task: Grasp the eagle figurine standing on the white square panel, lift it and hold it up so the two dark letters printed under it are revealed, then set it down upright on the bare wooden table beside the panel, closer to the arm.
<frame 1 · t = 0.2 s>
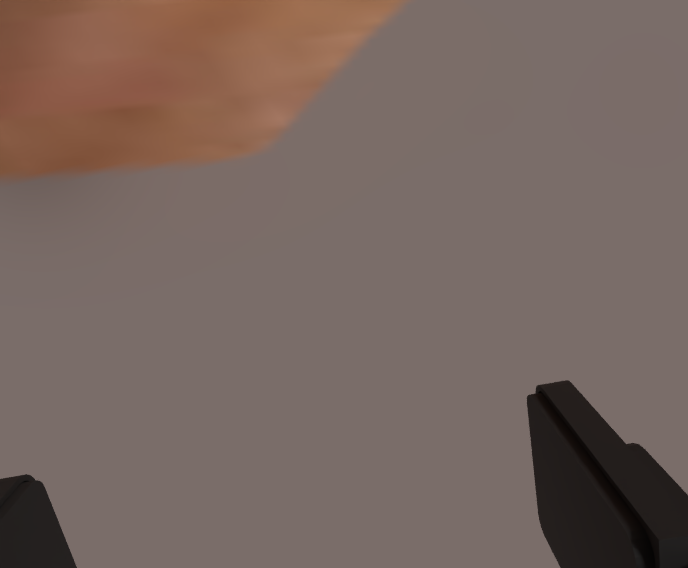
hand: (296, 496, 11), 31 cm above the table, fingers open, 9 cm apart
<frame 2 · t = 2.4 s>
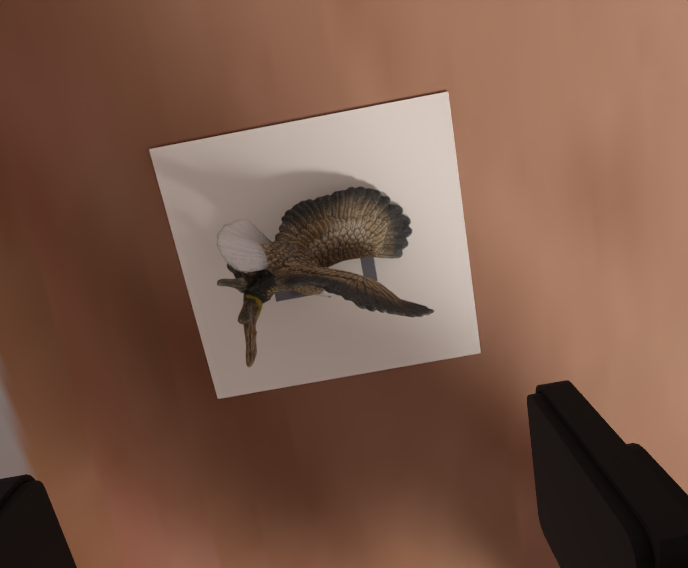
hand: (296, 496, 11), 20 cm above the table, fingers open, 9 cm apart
eagle figurine: (324, 256, 30), resting on white square panel
white square panel: (324, 256, 30), on the table
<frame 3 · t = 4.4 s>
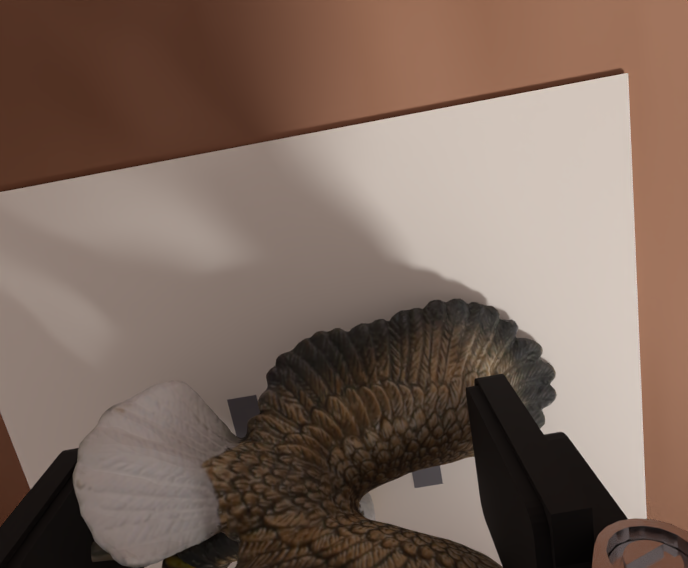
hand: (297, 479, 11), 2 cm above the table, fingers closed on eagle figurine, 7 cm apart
eagle figurine: (356, 430, 14), resting on white square panel, touching gripper
white square panel: (327, 435, 14), on the table
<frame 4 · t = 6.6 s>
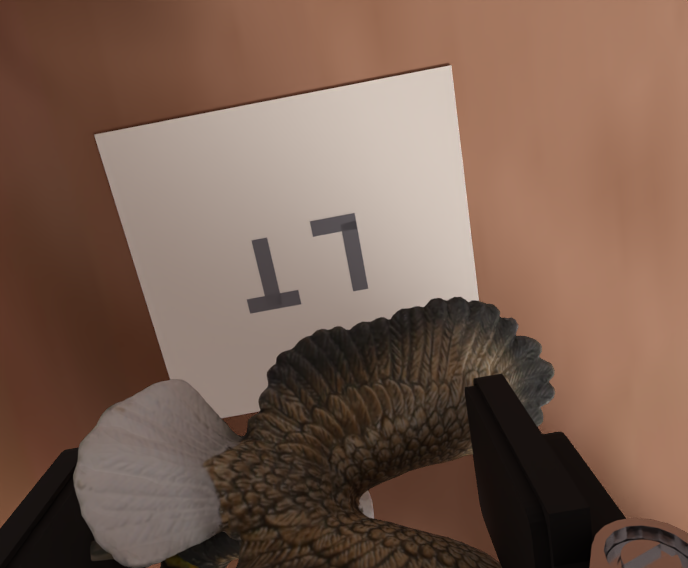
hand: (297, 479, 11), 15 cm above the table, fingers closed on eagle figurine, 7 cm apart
eagle figurine: (355, 427, 14), point 12 cm above the table, touching gripper
white square panel: (305, 261, 25), on the table
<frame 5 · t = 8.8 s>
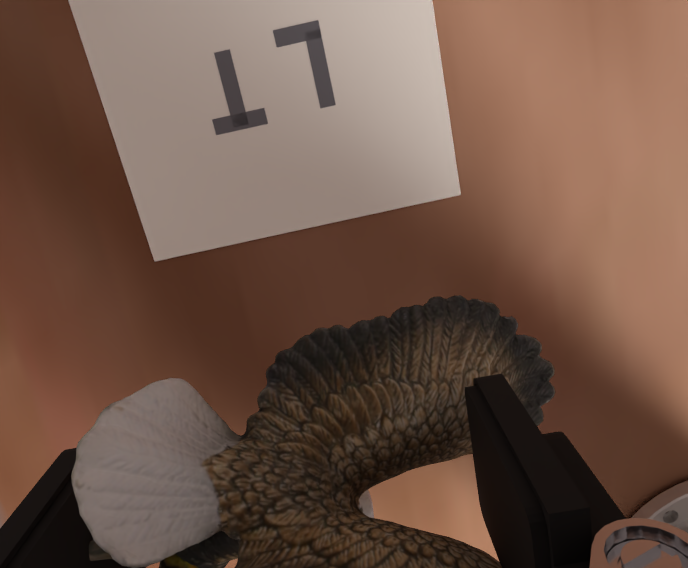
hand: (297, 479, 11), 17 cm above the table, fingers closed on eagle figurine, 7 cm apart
eagle figurine: (355, 427, 14), point 15 cm above the table, touching gripper
white square panel: (270, 75, 25), on the table
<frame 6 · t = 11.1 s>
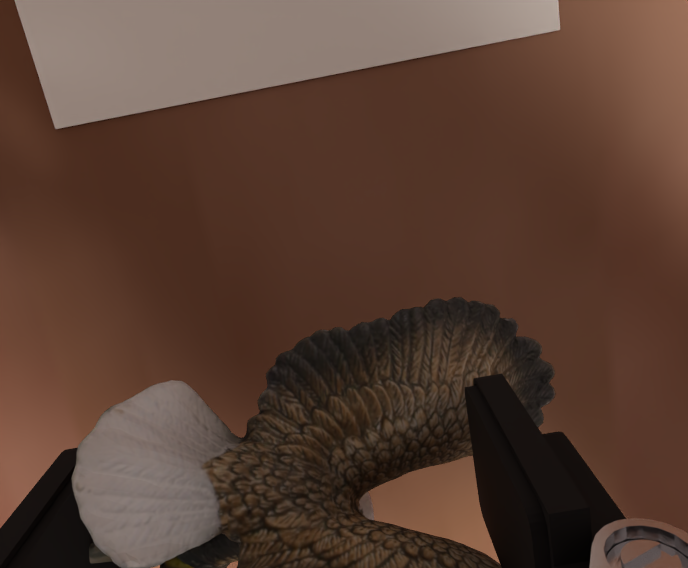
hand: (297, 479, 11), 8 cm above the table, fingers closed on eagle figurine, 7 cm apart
eagle figurine: (355, 428, 14), point 5 cm above the table, touching gripper
when the fingers open (3 cm above the table, at t = 13.0 s): eagle figurine stays where it is, on the table.
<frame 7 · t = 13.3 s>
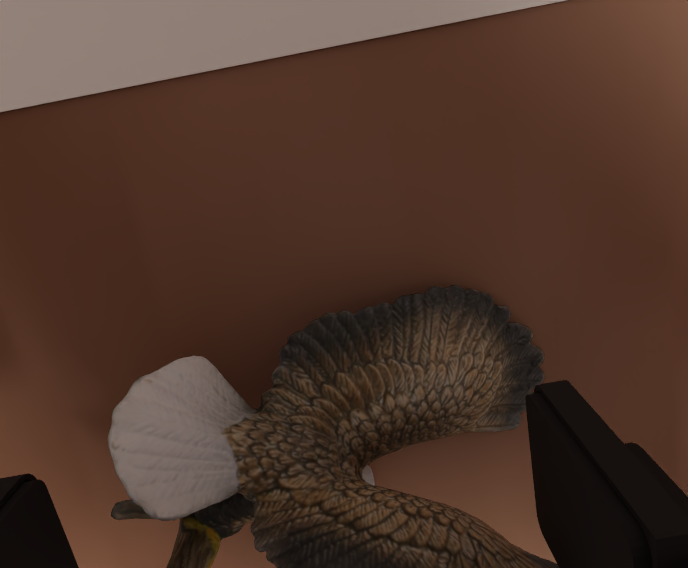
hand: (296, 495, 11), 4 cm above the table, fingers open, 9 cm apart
eagle figurine: (358, 408, 15), on the table
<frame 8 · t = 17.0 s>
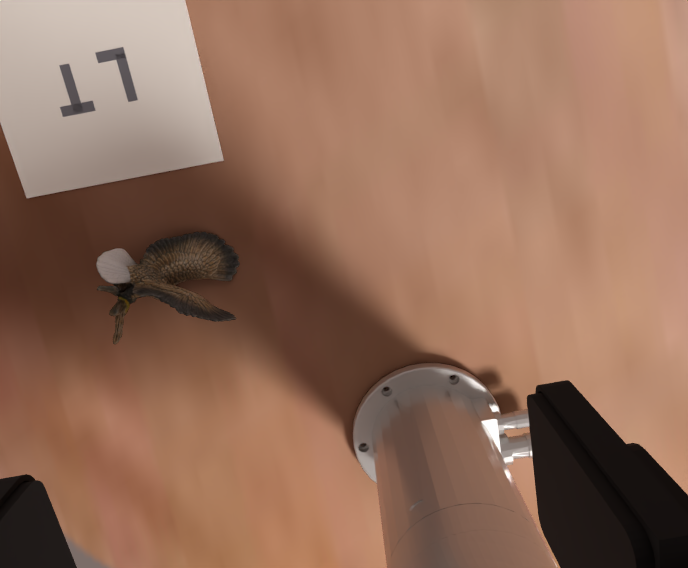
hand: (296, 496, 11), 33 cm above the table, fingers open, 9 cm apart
eagle figurine: (180, 274, 44), on the table
white square panel: (95, 80, 40), on the table
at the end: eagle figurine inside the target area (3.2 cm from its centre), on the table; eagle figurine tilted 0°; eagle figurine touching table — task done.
